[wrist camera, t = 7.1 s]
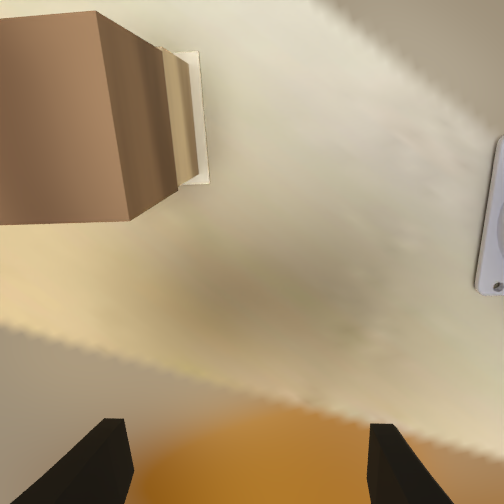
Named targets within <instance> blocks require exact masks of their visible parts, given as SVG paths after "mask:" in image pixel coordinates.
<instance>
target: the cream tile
mask: <svg viewBox="0 0 504 504" xmlns="http://www.w3.org/2000/svg"><path fill="white" fill-rule="evenodd" d="M172 54H174V55H176V56H177V57H179V58H180V59H182V60H183V61H185V62H186V63H188V64H189V74H190V85H191V95H192V106H193V116H194V127H195V138H196V148H197V159H198V169H199V174H198V175H197V176H195V177H193V178H192V179H190V180H188V181H187V182H185V183H183V184H182V185H190V184H210V178H209V166H208V155H207V143H206V131H205V120H204V108H203V96H202V85H201V73H200V61H199V51H190V52H176V53H172Z"/></svg>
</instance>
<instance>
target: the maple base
mask: <svg viewBox="0 0 504 504" xmlns="http://www.w3.org/2000/svg"><path fill="white" fill-rule="evenodd" d="M156 48H158V49H159V50H161V51H162V54H163V63H164V72H165V80H166V89H167V98H168V106H169V115H170V124H171V132H172V141H173V150H174V159H175V167H176V176H177V185H178V186H180V185H182V184H183V183H185V182H187V181H188V180H190V179H192V178H193V177H195V176H197V175H198V174H199V169H198V159H197V148H196V138H195V127H194V116H193V106H192V95H191V85H190V74H189V64H188V63H186V62H185V61H183V60H182V59H180V58H179V57H177V56H176V55H174V54H172V53H171V52H169V51H168V50H166V49H165V48H163V47H156Z"/></svg>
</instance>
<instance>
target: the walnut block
mask: <svg viewBox="0 0 504 504" xmlns="http://www.w3.org/2000/svg"><path fill="white" fill-rule="evenodd" d="M176 191H178V185H177V176H176V167H175V159H174V150H173V141H172V132H171V124H170V115H169V106H168V98H167V89H166V80H165V72H164V63H163V54H162V51H161V50H159V49H158V48H156V47H154V46H153V45H151V44H150V43H148V42H146V41H145V40H143V39H141V38H140V37H138V36H136V35H135V34H133V33H131V32H130V31H128V30H127V29H125V28H123V27H122V26H120V25H118V24H117V23H115V22H113V21H112V20H110V19H108V18H107V17H105V16H103V15H102V14H100V13H99V12H97V11H85V12H74V13H62V14H50V15H38V16H27V17H15V18H3V19H0V225H21V224H54V223H86V222H119V221H131V220H132V219H134V218H135V217H137V216H139V215H140V214H142V213H143V212H145V211H146V210H148V209H150V208H151V207H153V206H154V205H156V204H158V203H159V202H161V201H162V200H164V199H165V198H167V197H169V196H170V195H172V194H173V193H175V192H176Z"/></svg>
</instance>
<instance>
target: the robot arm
mask: <svg viewBox="0 0 504 504" xmlns="http://www.w3.org/2000/svg"><path fill="white" fill-rule="evenodd" d="M498 282H500V285H499V286H498V287H497V288H494V289H493V286H494V285H495V284H496V283H498ZM475 289H476V291H477V292H479V293H480V294H481V295H485V296H504V135H503V136H501V138H500V139H499V140H498V143H497V147H496V153H495V159H494V166H493V172H492V178H491V184H490V191H489V197H488V203H487V210H486V216H485V222H484V229H483V235H482V241H481V247H480V254H479V260H478V266H477V273H476V279H475ZM133 473H134V467H133V462H132V457H131V452H130V447H129V442H128V437H127V432H126V428H125V422H124V419H108V418H107V419H106V418H104V419H103V420H102V421H101V422H100V423H99V424H98V425H97V426H96V427H94V428H93V429H92V430H91V431H90V432H89V433H88V434H87V435H86V436H85V437H84V438H83V439H82V440H81V441H80V442H78V443H77V444H76V445H75V446H74V447H73V448H72V449H71V450H70V451H69V452H68V453H67V454H66V455H65V456H64V457H62V458H61V459H60V460H59V461H58V462H57V463H56V464H55V465H54V466H53V467H52V468H50V469H49V471H47V472H46V473H45V474H44V475H43V476H42V477H41V478H40V479H38V480H37V481H36V482H35V483H34V484H33V485H31V486H30V487H29V488H28V489H27V490H26V491H24V492H23V493H22V494H21V495H20V496H19V497H18V498H16V499H15V500H14V501H13V502H12V503H10V504H124V503H125V500H126V496H127V493H128V490H129V487H130V483H131V480H132V476H133ZM367 483H368V488H369V494H370V499H371V504H454V503H453V502H452V501H451V499H450V498H449V497H448V496H447V494H446V493H445V492H444V491H443V489H442V488H441V487H440V486H439V484H438V483H437V482H436V481H435V480H434V478H433V477H432V476H431V475H430V473H429V472H428V471H427V469H426V468H425V467H424V465H423V464H422V463H421V461H420V460H419V459H418V457H417V456H416V455H415V453H414V452H413V450H412V449H411V448H410V446H409V445H408V444H407V442H406V441H405V439H404V438H403V436H402V435H401V433H400V432H399V431H398V429H397V428H396V427H395V426H394V425H393V424H371V423H370V437H369V451H368V466H367Z"/></svg>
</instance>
